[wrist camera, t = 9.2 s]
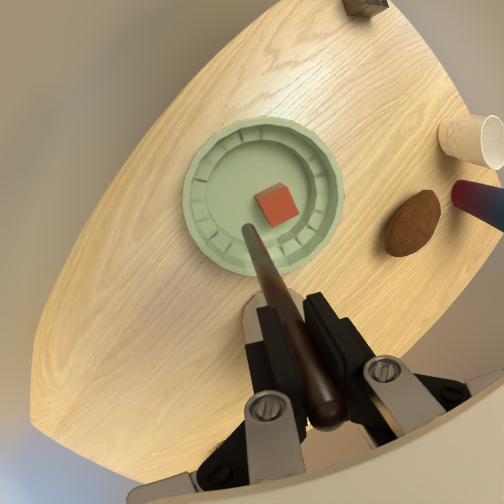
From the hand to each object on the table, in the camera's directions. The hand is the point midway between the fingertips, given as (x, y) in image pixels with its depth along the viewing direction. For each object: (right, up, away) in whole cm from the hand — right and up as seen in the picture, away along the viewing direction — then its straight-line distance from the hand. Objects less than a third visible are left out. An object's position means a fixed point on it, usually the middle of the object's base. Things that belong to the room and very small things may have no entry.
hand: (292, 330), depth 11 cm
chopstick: (-2, +5, +14) cm, 15 cm away
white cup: (+30, +22, +25) cm, 45 cm away
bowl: (-1, +11, +25) cm, 27 cm away
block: (+1, +9, +25) cm, 27 cm away
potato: (+21, +8, +29) cm, 37 cm away
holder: (+13, +38, +16) cm, 43 cm away
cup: (+34, +13, +29) cm, 47 cm away
